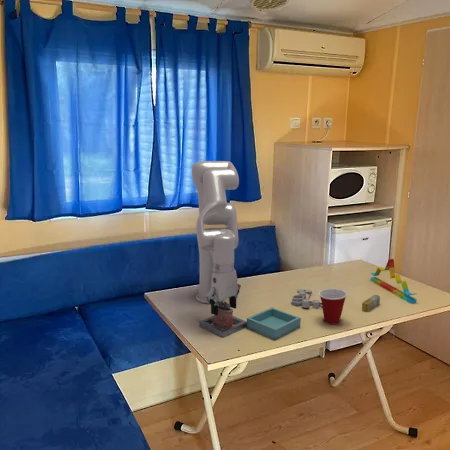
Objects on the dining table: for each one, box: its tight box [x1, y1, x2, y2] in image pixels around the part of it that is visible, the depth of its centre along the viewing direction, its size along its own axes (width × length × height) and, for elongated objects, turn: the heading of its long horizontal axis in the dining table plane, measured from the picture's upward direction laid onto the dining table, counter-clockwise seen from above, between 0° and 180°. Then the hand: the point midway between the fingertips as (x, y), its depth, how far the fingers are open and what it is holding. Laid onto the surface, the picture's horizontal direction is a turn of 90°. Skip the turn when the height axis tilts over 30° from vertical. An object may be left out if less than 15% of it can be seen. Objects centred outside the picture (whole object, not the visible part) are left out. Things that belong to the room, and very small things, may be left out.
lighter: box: [213, 301, 234, 330], centre depth 181 cm, size 8×3×10 cm, turn 58°
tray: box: [246, 307, 301, 341], centre depth 182 cm, size 14×15×4 cm
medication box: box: [361, 294, 381, 313], centre depth 202 cm, size 12×3×4 cm, turn 139°
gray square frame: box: [198, 315, 247, 338], centre depth 182 cm, size 13×13×2 cm
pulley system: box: [290, 288, 322, 309], centre depth 207 cm, size 27×5×15 cm
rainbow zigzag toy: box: [370, 258, 417, 305], centre depth 220 cm, size 30×3×15 cm, turn 17°
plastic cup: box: [318, 288, 348, 325], centre depth 187 cm, size 11×11×12 cm
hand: (223, 310), depth 180 cm, fingers open, 9 cm apart
